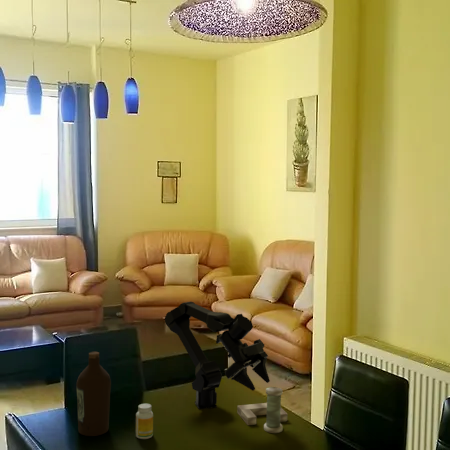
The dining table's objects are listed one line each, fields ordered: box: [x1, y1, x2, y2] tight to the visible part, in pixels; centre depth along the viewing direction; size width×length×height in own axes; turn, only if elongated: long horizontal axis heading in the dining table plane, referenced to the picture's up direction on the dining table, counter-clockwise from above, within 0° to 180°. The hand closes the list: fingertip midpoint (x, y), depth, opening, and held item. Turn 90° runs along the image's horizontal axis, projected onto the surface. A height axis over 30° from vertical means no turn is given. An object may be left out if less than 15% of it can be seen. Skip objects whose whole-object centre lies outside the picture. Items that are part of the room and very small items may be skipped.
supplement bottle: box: [135, 403, 154, 440], centre depth 186 cm, size 5×5×10 cm
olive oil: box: [75, 351, 112, 437], centre depth 189 cm, size 11×11×25 cm
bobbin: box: [263, 386, 284, 434], centre depth 193 cm, size 6×6×13 cm
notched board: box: [236, 402, 288, 426], centre depth 203 cm, size 14×11×2 cm
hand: (261, 385), depth 195 cm, fingers open, 9 cm apart
